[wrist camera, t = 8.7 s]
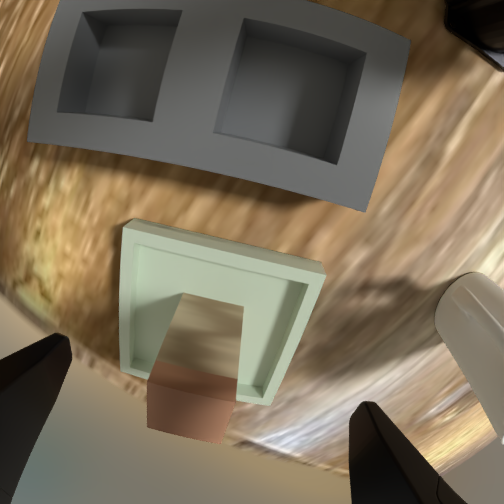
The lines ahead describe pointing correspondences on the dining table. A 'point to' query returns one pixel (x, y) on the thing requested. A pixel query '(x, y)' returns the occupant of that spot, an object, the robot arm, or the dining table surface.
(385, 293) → the dining table surface
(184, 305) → the plug
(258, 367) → the tray
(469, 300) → the mug
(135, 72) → the grey cinder block
